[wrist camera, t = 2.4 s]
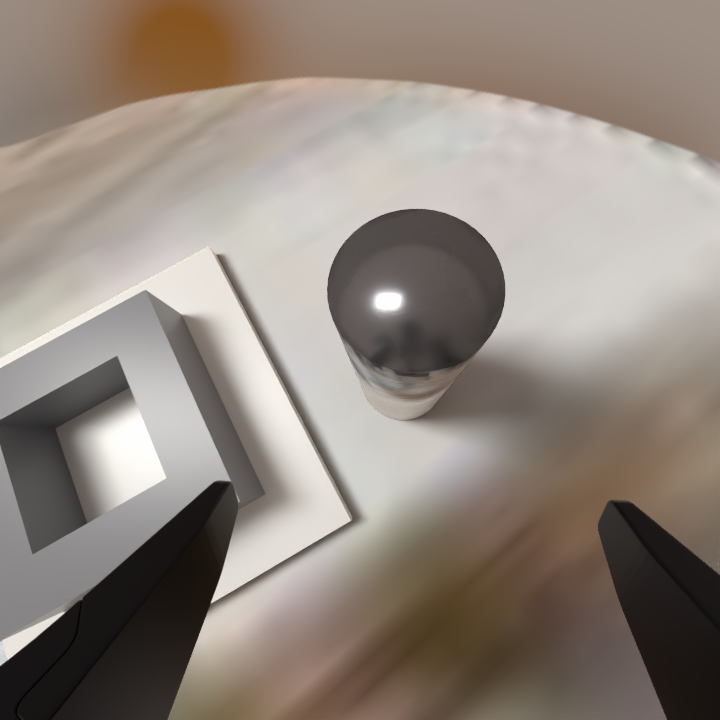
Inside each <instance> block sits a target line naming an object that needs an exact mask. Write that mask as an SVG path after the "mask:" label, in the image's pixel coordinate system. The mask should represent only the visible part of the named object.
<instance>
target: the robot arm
mask: <svg viewBox="0 0 720 720" xmlns="http://www.w3.org/2000/svg"><path fill="white" fill-rule="evenodd" d="M238 506H239V505H238V499H237V496H236V492H235V489H234V485H233V483H232V482H231V481H220V480H218V481H215V482H213V483H212V484H211V485H209V486H208V487H207V488H206V489H205V490H204V491H203V492H201V493H200V494H199V495H198V496H197V497H196V498H195V499H193V500H192V501H191V502H190V503H189V504H188V505H187V506H186V507H184V508H183V509H182V510H181V511H180V512H179V513H178V514H176V515H175V516H174V517H173V518H172V519H171V520H170V521H169V522H167V523H166V524H165V525H164V526H163V527H162V528H161V529H159V530H158V531H157V532H156V533H155V534H154V535H153V536H152V537H150V538H149V539H148V540H147V541H146V542H145V543H144V544H142V545H141V546H140V547H139V548H138V549H137V550H136V551H134V552H133V553H132V554H131V555H130V556H129V557H128V558H127V559H125V560H124V561H123V562H122V563H121V564H120V565H119V566H117V567H116V568H115V569H114V570H113V571H112V572H111V573H110V574H108V575H107V576H106V577H105V578H104V579H103V580H102V581H100V582H99V583H98V584H97V585H96V586H95V587H94V588H93V589H91V590H90V591H89V592H88V593H87V594H86V595H85V596H84V597H83V598H82V600H79V601H78V602H76V603H75V604H74V605H73V606H72V607H71V608H70V609H69V610H67V611H66V612H65V613H64V614H63V615H62V616H61V617H59V618H58V619H57V620H56V621H55V622H53V623H52V624H51V625H50V626H49V627H48V628H46V629H45V630H44V631H43V632H42V633H41V634H39V635H38V636H37V637H36V638H35V639H33V640H32V641H31V642H30V643H28V644H27V645H26V646H25V647H23V648H22V649H21V650H20V651H18V652H17V653H16V654H15V655H13V656H12V657H11V658H10V659H8V660H7V661H6V662H5V663H3V664H2V665H1V666H0V720H167V719H168V716H169V714H170V711H171V708H172V706H173V703H174V700H175V698H176V695H177V692H178V690H179V687H180V684H181V682H182V679H183V676H184V674H185V671H186V668H187V666H188V663H189V660H190V657H191V655H192V652H193V649H194V647H195V644H196V641H197V639H198V636H199V633H200V631H201V628H202V625H203V623H204V620H205V617H206V615H207V612H208V609H209V607H210V604H211V601H212V598H213V596H214V593H215V590H216V588H217V585H218V582H219V579H220V577H221V574H222V570H223V567H224V563H225V560H226V556H227V552H228V548H229V544H230V540H231V536H232V533H233V529H234V525H235V521H236V517H237V513H238ZM598 531H599V535H600V538H601V542H602V545H603V549H604V552H605V555H606V559H607V562H608V566H609V569H610V572H611V576H612V579H613V583H614V586H615V589H616V593H617V596H618V599H619V602H620V604H621V607H622V609H623V612H624V615H625V617H626V619H627V622H628V624H629V627H630V629H631V632H632V634H633V637H634V639H635V642H636V644H637V647H638V649H639V651H640V654H641V656H642V659H643V661H644V664H645V666H646V669H647V671H648V674H649V676H650V679H651V681H652V683H653V686H654V688H655V691H656V693H657V696H658V698H659V701H660V703H661V706H662V708H663V710H664V713H665V715H666V718H667V720H720V575H719V574H718V573H717V572H716V571H714V570H713V569H712V568H711V567H710V566H708V565H707V564H706V563H705V562H703V561H702V560H701V559H700V558H699V557H697V556H696V555H695V554H694V553H692V552H691V551H690V550H689V549H688V548H686V547H685V546H684V545H683V544H682V543H680V542H679V541H678V540H677V539H675V538H674V537H673V536H672V535H671V534H669V533H668V532H667V531H666V530H664V529H663V528H662V527H661V526H660V525H658V524H657V523H656V522H655V521H654V520H652V519H651V518H650V517H649V516H647V515H646V514H645V513H644V512H643V511H641V510H640V509H639V508H638V507H636V506H635V505H634V504H633V503H631V502H629V501H625V500H610V501H608V502H607V504H606V506H605V509H604V511H603V513H602V515H601V517H600V519H599V522H598Z"/></svg>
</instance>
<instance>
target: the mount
mask: <svg viewBox="0 0 720 720" xmlns="http://www.w3.org/2000/svg"><path fill="white" fill-rule="evenodd" d="M218 480H220V481H231V482H232V483H233V485H234V489H235V492H236V496H237V499H238V505H239V506H238V513H237V517H236V521H235V525H234V529H233V533H232V536H231V540H230V544H229V548H228V552H227V556H226V560H225V563H224V567H223V570H222V574H221V577H220V579H219V582H218V585H217V588H216V590H215V593H214V596H213V598H212V601H211V603H213V602H215V601H216V600H218V599H220V598H221V597H223V596H225V595H226V594H228V593H230V592H232V591H233V590H235V589H237V588H238V587H240V586H242V585H243V584H245V583H247V582H248V581H250V580H252V579H253V578H255V577H257V576H259V575H260V574H262V573H264V572H265V571H267V570H269V569H270V568H272V567H274V566H275V565H277V564H279V563H280V562H282V561H284V560H285V559H287V558H289V557H291V556H292V555H294V554H296V553H297V552H299V551H301V550H302V549H304V548H306V547H307V546H309V545H311V544H312V543H314V542H316V541H318V540H319V539H321V538H323V537H324V536H326V535H328V534H329V533H331V532H333V531H334V530H336V529H338V528H339V527H341V526H343V525H345V524H346V523H348V522H350V521H351V520H352V518H353V517H352V515H351V513H350V511H349V509H348V507H347V506H346V504H345V502H344V500H343V498H342V496H341V494H340V492H339V490H338V488H337V486H336V484H335V482H334V481H333V479H332V477H331V475H330V473H329V471H328V469H327V467H326V465H325V463H324V461H323V459H322V457H321V455H320V454H319V452H318V450H317V448H316V446H315V444H314V442H313V440H312V438H311V436H310V434H309V432H308V430H307V428H306V427H305V425H304V423H303V421H302V419H301V417H300V415H299V413H298V411H297V409H296V407H295V405H294V403H293V402H292V400H291V398H290V396H289V394H288V392H287V390H286V388H285V386H284V384H283V382H282V380H281V378H280V376H279V375H278V373H277V371H276V369H275V367H274V365H273V363H272V361H271V359H270V357H269V355H268V353H267V351H266V350H265V348H264V346H263V344H262V342H261V340H260V338H259V336H258V334H257V332H256V330H255V328H254V326H253V324H252V323H251V321H250V319H249V317H248V315H247V313H246V311H245V309H244V307H243V305H242V303H241V301H240V299H239V297H238V296H237V294H236V292H235V290H234V288H233V286H232V284H231V282H230V280H229V278H228V276H227V274H226V272H225V271H224V269H223V267H222V265H221V263H220V261H219V259H218V257H217V255H216V254H215V252H214V251H213V250H212V249H211V248H210V247H209V246H208V247H206V248H204V249H202V250H200V251H198V252H196V253H195V254H193V255H191V256H189V257H187V258H185V259H184V260H182V261H180V262H178V263H176V264H174V265H172V266H171V267H169V268H167V269H165V270H163V271H161V272H159V273H158V274H156V275H154V276H152V277H150V278H148V279H146V280H145V281H143V282H141V283H139V284H137V285H135V286H133V287H132V288H130V289H128V290H126V291H124V292H122V293H120V294H119V295H117V296H115V297H113V298H111V299H109V300H107V301H106V302H104V303H102V304H100V305H98V306H96V307H94V308H93V309H91V310H89V311H87V312H85V313H83V314H81V315H80V316H78V317H76V318H74V319H72V320H70V321H68V322H67V323H65V324H63V325H61V326H59V327H57V328H55V329H54V330H52V331H50V332H48V333H46V334H44V335H42V336H41V337H39V338H37V339H35V340H33V341H31V342H29V343H28V344H26V345H24V346H22V347H20V348H18V349H16V350H15V351H13V352H11V353H9V354H7V355H5V356H3V357H2V358H0V641H2V642H3V646H4V649H5V653H6V657H7V660H8V659H10V658H11V657H12V656H13V655H15V654H16V653H17V652H18V651H20V650H21V649H22V648H23V647H25V646H26V645H27V644H28V643H30V642H31V641H32V640H33V639H35V638H36V637H37V636H38V635H39V634H41V633H42V632H43V631H44V630H45V629H46V628H48V627H49V626H50V625H51V624H52V623H53V622H55V621H56V620H57V619H58V618H59V617H61V616H62V615H63V614H64V613H65V612H66V611H67V610H69V609H70V608H71V607H72V606H73V605H74V604H75V603H76V602H78V601H79V600H82V598H83V597H84V596H85V595H86V594H87V593H88V592H89V591H90V590H91V589H93V588H94V587H95V586H96V585H97V584H98V583H99V582H100V581H102V580H103V579H104V578H105V577H106V576H107V575H108V574H110V573H111V572H112V571H113V570H114V569H115V568H116V567H117V566H119V565H120V564H121V563H122V562H123V561H124V560H125V559H127V558H128V557H129V556H130V555H131V554H132V553H133V552H134V551H136V550H137V549H138V548H139V547H140V546H141V545H142V544H144V543H145V542H146V541H147V540H148V539H149V538H150V537H152V536H153V535H154V534H155V533H156V532H157V531H158V530H159V529H161V528H162V527H163V526H164V525H165V524H166V523H167V522H169V521H170V520H171V519H172V518H173V517H174V516H175V515H176V514H178V513H179V512H180V511H181V510H182V509H183V508H184V507H186V506H187V505H188V504H189V503H190V502H191V501H192V500H193V499H195V498H196V497H197V496H198V495H199V494H200V493H201V492H203V491H204V490H205V489H206V488H207V487H208V486H209V485H211V484H212V483H213V482H215V481H218Z"/></svg>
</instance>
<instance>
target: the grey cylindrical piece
mask: <svg viewBox="0 0 720 720" xmlns="http://www.w3.org/2000/svg"><path fill="white" fill-rule="evenodd" d="M327 293H328V303H329V309H330V312H331V315H332V318H333V321H334V323H335V325H336V328H337V330H338V332H339V335H340V337H341V340H342V342H343V344H344V347H345V349H346V351H347V354H348V356H349V358H350V361H351V363H352V365H353V368H354V370H355V372H356V375H357V377H358V379H359V382H360V384H361V386H362V389H363V391H364V393H365V396H366V398H367V400H368V401H369V403H370V404H371V405H372V407H373V408H374V409H375V410H377V411H378V412H379V413H381V414H382V415H384V416H386V417H388V418H391V419H396V420H410V419H415V418H418V417H420V416H422V415H424V414H425V413H427V412H428V411H429V410H430V409H431V408H432V407H433V406H434V405H435V404H436V403H437V401H438V400H439V399H440V398H441V396H442V395H443V394H444V393H445V391H446V390H447V389H448V388H449V386H450V385H451V384H452V383H453V382H454V380H455V379H456V378H457V377H458V375H459V374H460V373H461V372H462V370H463V369H464V368H465V367H466V365H467V364H468V363H469V362H470V361H471V359H472V358H473V357H474V356H475V354H476V353H477V352H478V351H479V349H480V348H481V347H482V346H483V344H484V343H485V342H486V341H487V340H488V338H489V337H490V336H491V334H492V333H493V331H494V329H495V328H496V326H497V324H498V321H499V319H500V317H501V314H502V310H503V307H504V300H505V280H504V274H503V271H502V267H501V264H500V262H499V259H498V257H497V255H496V253H495V252H494V250H493V249H492V247H491V245H490V244H489V243H488V242H487V240H486V239H485V238H484V237H483V236H482V235H481V234H480V233H479V232H478V231H477V230H475V229H474V228H473V227H471V226H470V225H469V224H467V223H466V222H464V221H462V220H460V219H458V218H456V217H454V216H451V215H449V214H446V213H442V212H438V211H434V210H427V209H407V210H399V211H395V212H390V213H387V214H384V215H381V216H379V217H377V218H375V219H373V220H371V221H369V222H367V223H366V224H364V225H363V226H361V227H360V228H359V229H358V230H356V231H355V232H354V233H353V234H352V235H351V236H350V237H349V238H348V239H347V240H346V241H345V243H344V244H343V245H342V247H341V248H340V249H339V251H338V253H337V255H336V257H335V259H334V261H333V264H332V266H331V269H330V273H329V277H328V287H327Z"/></svg>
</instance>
